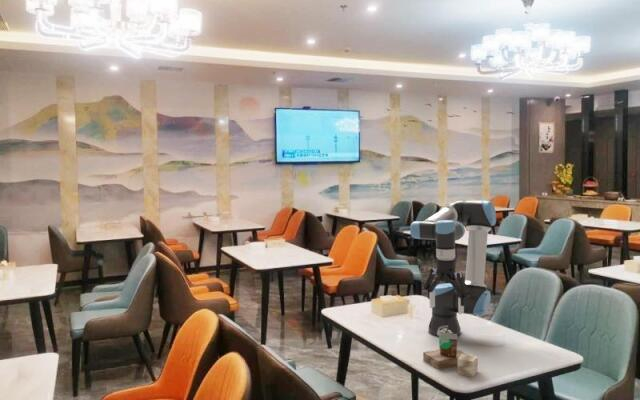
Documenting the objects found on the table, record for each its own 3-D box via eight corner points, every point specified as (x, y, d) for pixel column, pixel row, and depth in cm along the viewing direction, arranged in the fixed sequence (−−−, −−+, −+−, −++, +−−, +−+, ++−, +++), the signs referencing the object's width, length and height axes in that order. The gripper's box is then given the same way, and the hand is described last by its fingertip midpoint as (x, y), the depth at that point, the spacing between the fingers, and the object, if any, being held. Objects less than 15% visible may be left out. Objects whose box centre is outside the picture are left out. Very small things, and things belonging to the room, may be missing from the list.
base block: (423, 361, 217) (423, 352, 217) (453, 356, 222) (453, 347, 222) (438, 371, 207) (438, 361, 207) (470, 365, 212) (470, 355, 212)
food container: (433, 348, 220) (433, 325, 220) (447, 348, 221) (447, 324, 220) (442, 359, 208) (442, 335, 207) (457, 358, 209) (457, 334, 208)
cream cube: (457, 374, 202) (457, 358, 202) (462, 368, 207) (462, 353, 207) (473, 377, 199) (473, 361, 199) (477, 371, 204) (477, 356, 204)
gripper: (414, 256, 218) (415, 306, 220) (468, 263, 200) (468, 318, 202) (425, 254, 224) (426, 303, 225) (478, 260, 205) (479, 314, 207)
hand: (446, 310), depth 213 cm, fingers open, 13 cm apart
